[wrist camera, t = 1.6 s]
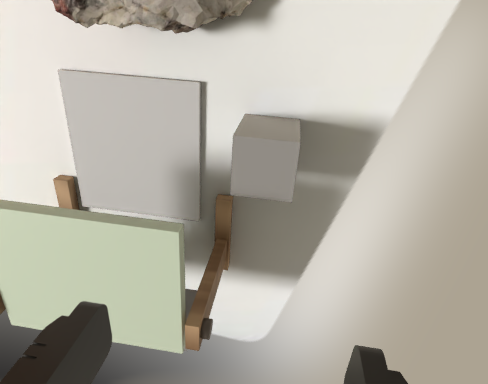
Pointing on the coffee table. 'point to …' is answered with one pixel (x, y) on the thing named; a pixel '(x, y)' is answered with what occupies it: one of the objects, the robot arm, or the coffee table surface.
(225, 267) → the frame
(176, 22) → the mineral rock
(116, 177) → the mat
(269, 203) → the coffee table surface
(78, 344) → the robot arm
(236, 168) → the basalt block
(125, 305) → the trapdoor
